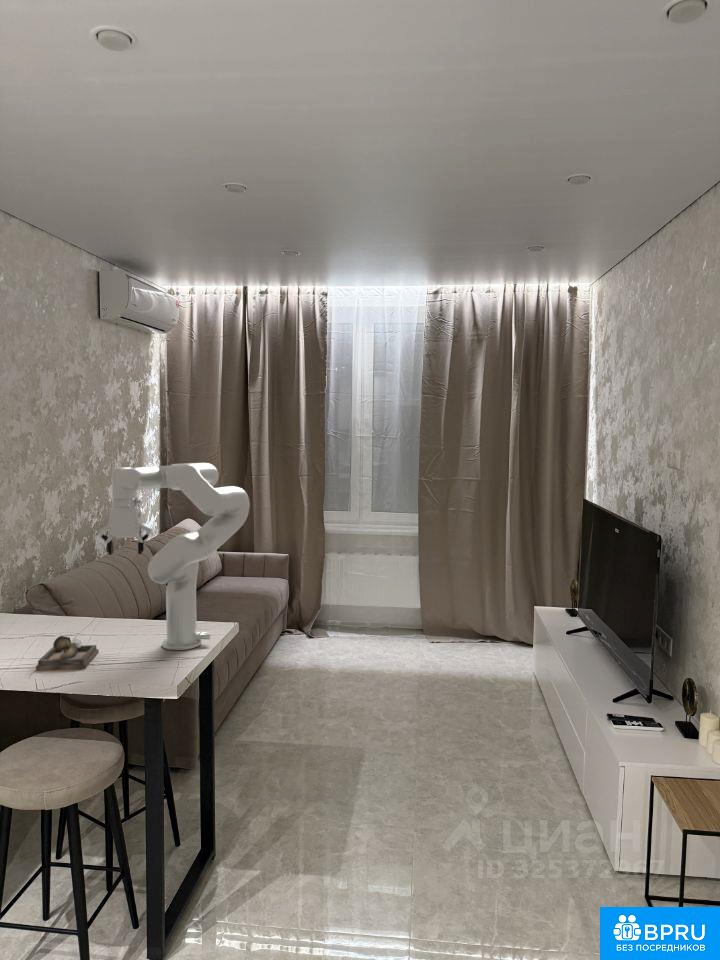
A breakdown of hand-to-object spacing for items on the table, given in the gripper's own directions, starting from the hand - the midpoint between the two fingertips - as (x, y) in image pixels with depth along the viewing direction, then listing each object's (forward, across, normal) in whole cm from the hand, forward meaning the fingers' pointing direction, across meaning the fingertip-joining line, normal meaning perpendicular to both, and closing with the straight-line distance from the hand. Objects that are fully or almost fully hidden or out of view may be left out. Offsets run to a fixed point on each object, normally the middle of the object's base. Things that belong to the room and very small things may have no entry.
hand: (125, 553), depth 242 cm
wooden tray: (+28, +12, +25) cm, 40 cm away
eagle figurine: (+26, +12, +28) cm, 40 cm away
